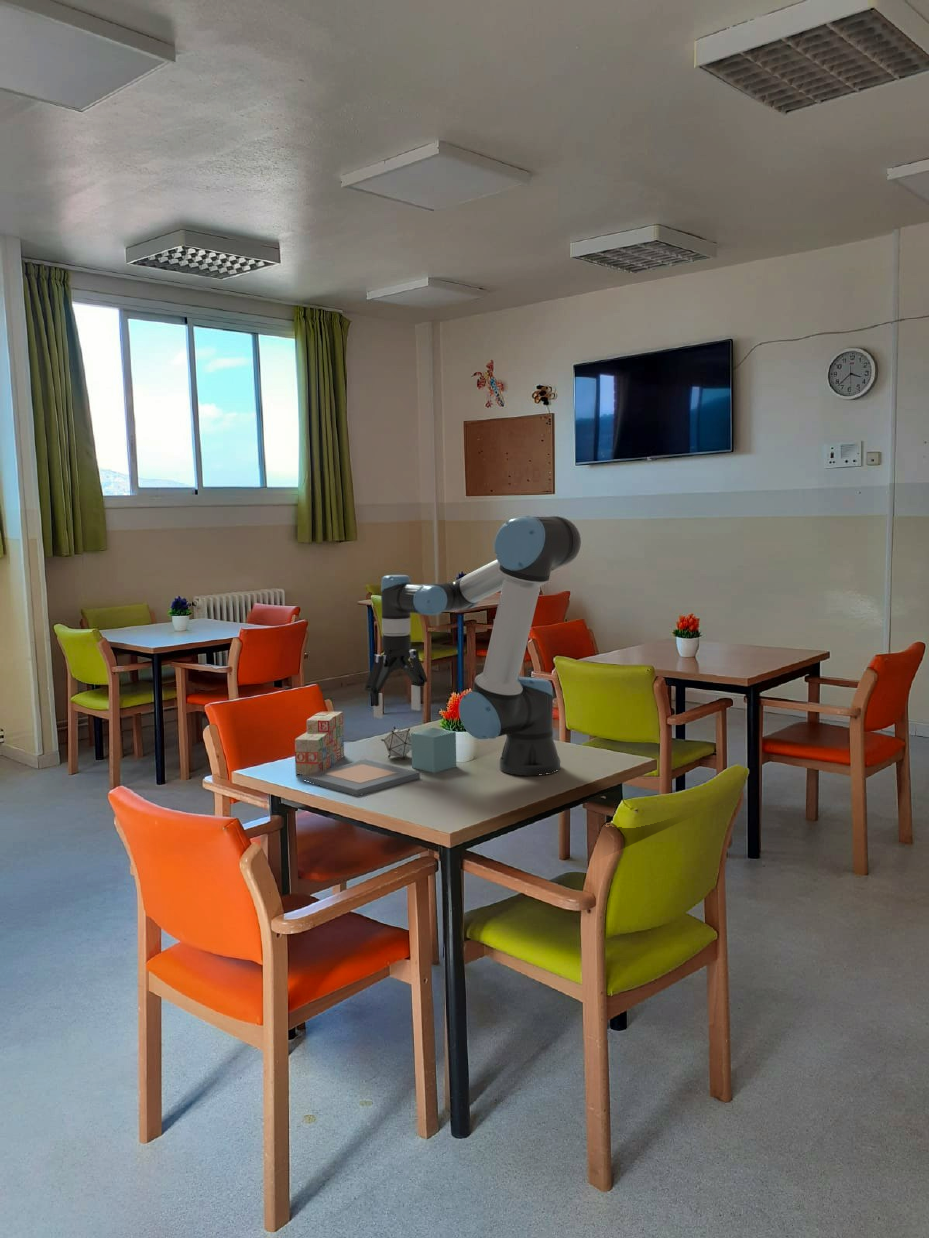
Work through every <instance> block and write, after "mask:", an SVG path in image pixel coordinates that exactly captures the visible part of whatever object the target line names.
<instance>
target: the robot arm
mask: <svg viewBox="0 0 929 1238" xmlns="http://www.w3.org/2000/svg"><path fill="white" fill-rule="evenodd" d="M581 545H582V537H581V535H580V531H579V529H578V528H577V526H576V525H575V524H574V523H573V522H572V521H571V520H569V519H567V518H565V517H562V516H556V515H553V516H530V515H524V516H520V517H515V518H511V519H509V520H508V521H506V522H504V523H503V524H502V525H501V527H500V529H498V531H497V533H496V536H495V539H494V545H493V546H494V549H493V550H494V553H495V554H496V556H495V558H496V559H495V560H493V561H491V562H489V563H486V564H485V565H483V566H481V567H479V568H478V569H475V570H474V571H471V572H470V573H467V574H466V575H464V576H463V577H461V578H458V579H456V580H455V581H450V582H438V583H425V584H421V583H420V584H418V583H411V579H410V578H411V577H410V576H409V575H405V574H388V575H384V576H383V577H382V578H381V583H380V584H381V585H380V593H381V594H380V595H381V597H380V598H381V600H380V601H381V632H382V636H381V647H382V649H383V655H382V654H374V656H373V664H372V667H371V670H370V672H369V676H368V679H367V681H366V685H365V688H364V690H365V692H368V693H371V705H372V706H373V709H372V710H373V718H376V719H383V718H384V717H383V714H384V713H383V712H384V711H383V706H384V705H383V693H382V692H381V690H382V689H383V687H385V684H386V682H387V681H388V678H389V677H390V675H391V673H393V672H394V671H397V670H403V671H404V672H405V673H406V675H407V677H408V678H409V679H410V681H411V683H413V684H411V686H410V688H411V689H410V690H411V691H410V694H411V695H410V696H411V697H410V698H411V702H410V703H411V704H410V706H411V707H410V708H411V710H414V711H421V697H422V695H423V694H422V693H423V692H422V687H424V686H425V684H426V683H427V682H428V677H427V673H426V672H425V670H424V667H423V665H422V662H421V659H420V656H419V654H420V653H419V650H418V649H412V648H411V647H412V646H411V645H412V643H411V642H412V639H411V638H412V636H411V634H410V633H411V632H412V631H411V630H412V629H411V627H412V626H411V614H416V615H424V616H437V615H440V614H441V613H445V612H454V611H466V610H471V609H474V608H475V607H477V605H478V604H479V602H480V601H482V600H484V599H486V598H489V597H490V596H492V595H495V594H496V593H499V592H500V594H499V599H498V603H497V608H496V614H495V618H494V622H493V626H492V630H491V635H490V640H489V644H488V647H487V648H488V649H487V652H486V657H485V662H484V666H483V669H482V670H483V671H482V672H481V673H479V674H477V675H476V676H475V678H474V683H473V687H472V690H471V691H467V692H466V693H465V694H464V695H463V696H462V697H461V698H460V701H459V703H458V715H459V718H460V722H461V723H462V726H463V727H464V729H465V730H466V732H467V733H468V734H469V735H471V737H472V738H475V739H476V740H477V739H478V740H483V741H484V740H489V739H490V740H493V739H496V738H498V737H502V736H505V737H506V738H505V742H504V746H503V749H502V753H501V756H500V759H499V769H500V771H501V772H503V773H506V774H509V773H510V774H509V775H513V774H516V775H515V776H522V775H526V776H525V777H527V775H538V776H540V775H539V774H546V773H552V772H554V771H556V770H559V769H560V770H561V759H560V756H559V754H558V751H557V747H556V744H555V740H554V735H553V734H554V708H553V707H554V693H553V685H552V682H551V681H550V680H548V679H545V678H539V677H538V678H537V677H529V676H520V675H521V670H522V667H523V663H524V658H525V654H526V648H527V645H528V641H529V636H530V632H531V628H532V624H533V620H534V615H535V611H536V607H537V603H538V598H539V594H540V591H541V587H542V586H543V585H545V584H546V583H548V582H549V581H550V577H551V574H552V573H551V572H552V571H554V570H557V569H559V568H561V567H563V566H566V565H568V564H570V563H571V562H573V560H575V559H576V557H577V556H578V554H579V552H580V549H581V547H582V546H581ZM410 648H411V649H410ZM560 770H559V771H560ZM552 774H553V773H552Z"/></svg>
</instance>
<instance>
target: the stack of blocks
mask: <svg viewBox="0 0 929 1238" xmlns="http://www.w3.org/2000/svg"><path fill="white" fill-rule="evenodd" d="M344 742H345V741H344V713H343V711H320V712H317V713H315V714H314V715H312V716H311V717H309V718H307V720H306V732H304V733H303V734H301V735H299V736H298V737H296V738H295V739H294V749H295V750H294V761H295V762H294V767H295V768H294V769H295V776H298V775H297V774H302V775H301V776H303V775H306V774H310V773H314V772H318V771H322V770H326V769H330V768H331V766H333V765H334V764H336V763H337V762H338V761H340V760H341V759H342V758H343V757H345V743H344ZM342 756H343V757H342ZM341 757H342V758H341Z"/></svg>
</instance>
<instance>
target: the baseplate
mask: <svg viewBox="0 0 929 1238" xmlns="http://www.w3.org/2000/svg"><path fill="white" fill-rule="evenodd" d="M420 773H421V772H420V771H417V770H412V769H407V768H403V767H400V766H394V765H391V764H386V763H382V762H378V761H373V760H371V759H369V760H368V759H361V760H358V761H354V762H350V763H346V764H345V763H344V764H342V765H338V766H334V767H329V768H328V769H326V770H322V771H318V772H314V773H310V774H306V775H302V781H303V780H306V781H309V782H311V783H314V784H313V785H315V784H318V785H320V786H319V787H322V786H323V788H326V787H328V788H327V789H329V788H331V789H330V790H333V789H334V790H333V791H336V790H339V791H338V792H340V791H342V792H341V793H344V794H347V793H348V795H351V794H353V795H352V796H354V795H356V796H355V797H358V795H359V796H362V795H361V794H363V795H366V794H369V793H372V792H376V791H379V790H380V791H381V790H383V789H387V788H390V787H395V786H398V785H400V784H404V783H405V784H406V783H408V782H411V781H414V780H418V779H420V777H421V776H420ZM311 783H310V784H311ZM318 785H317V786H318Z"/></svg>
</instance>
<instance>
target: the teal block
mask: <svg viewBox="0 0 929 1238" xmlns="http://www.w3.org/2000/svg"><path fill="white" fill-rule="evenodd" d="M456 733H457V731H453V730H447V729H441V728H437V727H432V728H431V727H430V728H428V729H427V728H426V729H423V730H419V731H415V732H411V733H410V736H411V768H412V769H417V770H419V771H420V770H421V771H424V772H425V771H426V772H429V773H434V774H435V773H438V772H442V771H445V770H449V769H453V768H456V767H457V736H456V735H457V734H456Z"/></svg>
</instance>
